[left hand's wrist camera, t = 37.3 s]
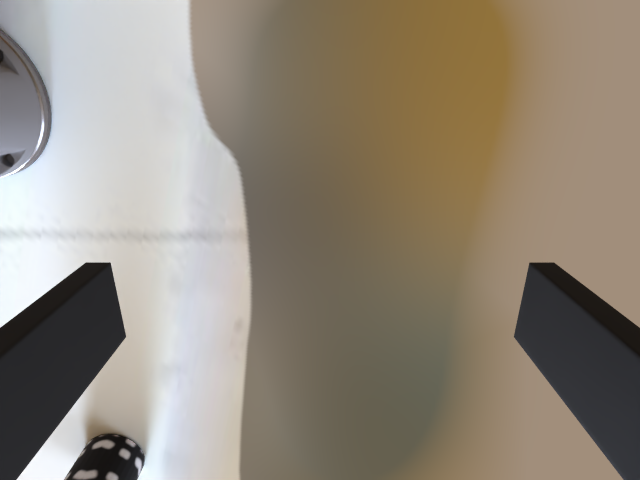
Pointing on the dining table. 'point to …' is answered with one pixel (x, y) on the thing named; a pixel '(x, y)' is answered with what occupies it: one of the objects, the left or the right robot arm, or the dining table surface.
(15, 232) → the dining table surface
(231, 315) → the dining table surface
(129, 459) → the black white spotted cylinder
